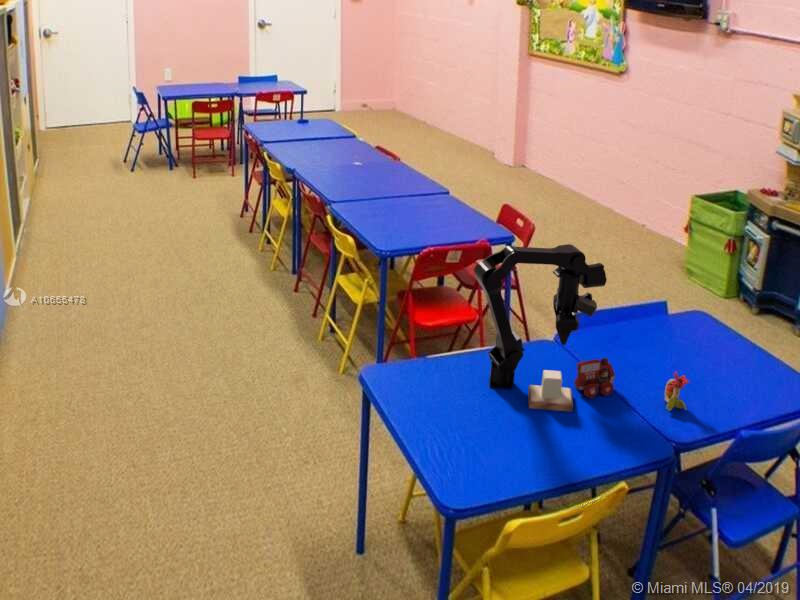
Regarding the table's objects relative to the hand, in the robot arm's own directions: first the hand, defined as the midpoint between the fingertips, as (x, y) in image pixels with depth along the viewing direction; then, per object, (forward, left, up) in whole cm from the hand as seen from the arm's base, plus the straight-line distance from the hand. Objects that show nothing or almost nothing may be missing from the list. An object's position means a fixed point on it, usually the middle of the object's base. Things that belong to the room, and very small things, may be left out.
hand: (562, 337), depth 247 cm
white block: (-3, -15, -10) cm, 18 cm away
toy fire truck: (+10, -7, -13) cm, 18 cm away
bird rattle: (+31, -12, -13) cm, 36 cm away
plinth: (-3, -15, -13) cm, 20 cm away
